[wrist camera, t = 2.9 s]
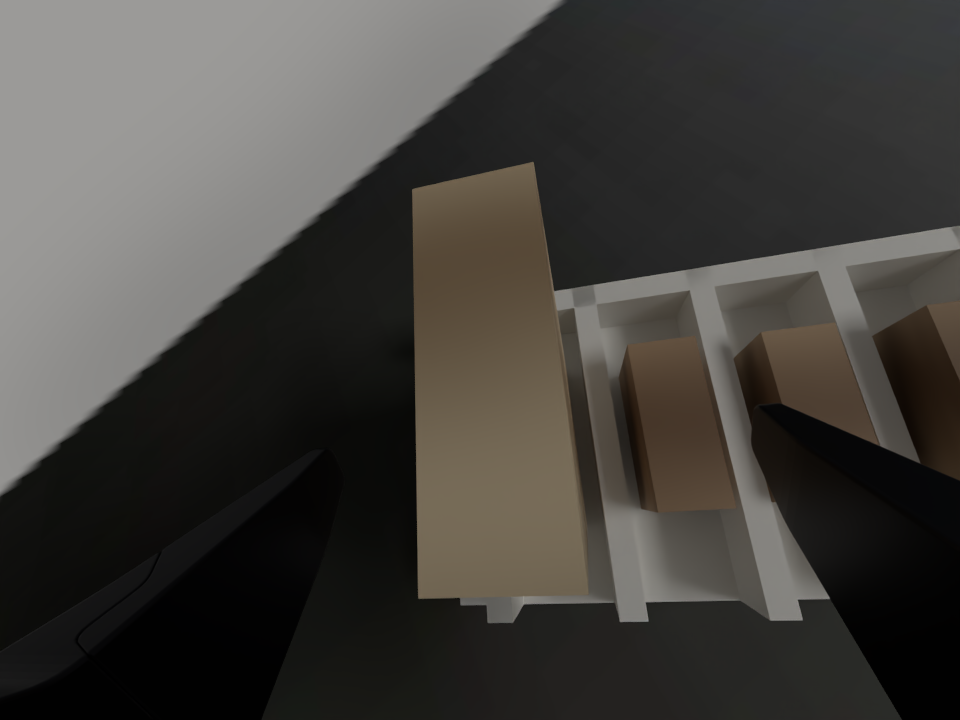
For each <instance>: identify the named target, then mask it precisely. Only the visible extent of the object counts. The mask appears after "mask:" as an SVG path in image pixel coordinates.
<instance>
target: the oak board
mask: <svg viewBox="0 0 960 720" xmlns="http://www.w3.org/2000/svg"><path fill="white" fill-rule="evenodd" d="M412 192H413V263H414V334H415V406H416V477H417V548H418V599H426V598H474V597H522V596H570V595H589V587H588V538H587V521H586V513H585V506H584V498H583V491H582V483H581V476H580V468H579V461H578V453H577V446H576V438H575V430H574V423H573V415H572V408H571V400H570V393H569V385H568V378H567V370H566V364H565V358H564V352H563V345H562V339H561V333H560V326H559V320H558V314H557V307H556V301H555V295H554V288H553V282H552V276H551V270H550V263H549V257H548V251H547V244H546V238H545V232H544V225H543V219H542V213H541V207H540V200H539V194H538V188H537V181H536V175H535V169H534V162H531V163H527V164H523V165H518V166H514V167H509V168H505V169H500V170H496V171H491V172H487V173H482V174H478V175H474V176H469V177H465V178H460V179H456V180H451V181H447V182H442V183H438V184H433V185H429V186H424V187H420V188H416V189H412Z"/></svg>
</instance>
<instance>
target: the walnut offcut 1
mask: <svg viewBox="0 0 960 720" xmlns="http://www.w3.org/2000/svg"><path fill="white" fill-rule="evenodd" d="M619 383H620V389H621V395H622V400H623V406H624V412H625V418H626V424H627V429H628V435H629V441H630V447H631V453H632V458H633V464H634V470H635V476H636V482H637V487H638V493H639V499H640V505H641V509H643V510H648V511H652V512H657V513H662V512H680V511H698V510H715V509H733V508H737V507H736V503H735V499H734V495H733V491H732V487H731V482H730V478H729V474H728V470H727V466H726V462H725V457H724V453H723V449H722V445H721V441H720V437H719V432H718V428H717V424H716V420H715V416H714V412H713V407H712V403H711V399H710V395H709V391H708V387H707V382H706V378H705V374H704V370H703V366H702V362H701V357H700V353H699V349H698V345H697V341H696V337H695V336H689V337H682V338H674V339H667V340H659V341H652V342H644V343H637V344H629V345H627V348H626V352H625V355H624V359H623V363H622V367H621V370H620V374H619Z"/></svg>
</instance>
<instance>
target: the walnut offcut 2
mask: <svg viewBox="0 0 960 720" xmlns="http://www.w3.org/2000/svg"><path fill="white" fill-rule="evenodd" d="M733 359H734V363H735V367H736V370H737V374H738V378H739V382H740V385H741V389H742V393H743V397H744V400H745V404H746V408H747V412H748V416H749V419H750V423H751V427H752V419H753V411H754V408H755V407H756V406H757V405H761V404H770V403H781V404H784V405H786V406H789V407H791V408H793V409H796V410H798V411H800V412H802V413H805V414H807V415H809V416H812V417H814V418H816V419H819V420H821V421H823V422H826V423H828V424H830V425H833V426H835V427H837V428H839V429H842V430H844V431H846V432H849V433H851V434H853V435H856V436H858V437H860V438H863V439H865V440H867V441H870V442H872V443H874V444H876V445H878V442H877V439H876V436H875V433H874V431H873V428H872V425H871V422H870V419H869V417H868V414H867V411H866V408H865V405H864V403H863V400H862V397H861V394H860V391H859V389H858V386H857V383H856V380H855V377H854V375H853V372H852V369H851V366H850V363H849V360H848V358H847V355H846V352H845V349H844V346H843V344H842V341H841V338H840V335H839V332H838V330H837V327H836V324H835V322H834V323H827V324H819V325H811V326H804V327H796V328H788V329H781V330H773V331H765V332H761V333H760V334H758V335H757V336H756V337H755V338H754V339H753V340H752V341H751V342H750V343H749V344H748V345H747V346H746V347H745V348H744V349H743V350H742V351H741V352H740V353H738V354H737V355H736V356H735V357H734V358H733ZM765 480H766V479H765ZM766 483H767V481H766ZM767 487H768V491H769V495H770V498H771V502H775V499H774V497H773V495H772V493H771V490H770V488H769V486H768V484H767Z"/></svg>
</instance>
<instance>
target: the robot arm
mask: <svg viewBox="0 0 960 720" xmlns="http://www.w3.org/2000/svg"><path fill="white" fill-rule="evenodd" d="M751 446H752V449H753V452H754V455H755V457H756V459H757V461H758V464H759V466H760V468H761V470H762V472H763V475H764V477H765V479H766V481H767V484H768V486H769V488H770V490H771V493H772V495H773V497H774V499H775V502H776V504H777V506H778V508H779V511H780V513H781V515H782V517H783V519H784V521H785V523H786V525H787V526H788V528H789V530H790V532H791V534H792V535H793V537H794V539H795V540H796V542H797V544H798V545H799V547H800V549H801V550H802V552H803V554H804V556H805V557H806V559H807V561H808V562H809V564H810V566H811V567H812V569H813V571H814V572H815V574H816V576H817V577H818V579H819V581H820V582H821V584H822V586H823V588H824V589H825V591H826V593H827V594H828V596H829V598H830V599H831V601H832V603H833V604H834V606H835V608H836V609H837V611H838V613H839V614H840V616H841V618H842V619H843V621H844V623H845V625H846V626H847V628H848V630H849V631H850V633H851V635H852V636H853V638H854V640H855V641H856V643H857V645H858V646H859V648H860V650H861V651H862V653H863V655H864V657H865V658H866V660H867V662H868V663H869V665H870V667H871V668H872V670H873V672H874V673H875V675H876V677H877V678H878V680H879V682H880V683H881V685H882V687H883V688H884V690H885V692H886V694H887V695H888V697H889V699H890V700H891V702H892V704H893V705H894V707H895V709H896V710H897V712H898V714H899V715H900V717H901V719H902V720H960V480H957V479H955V478H953V477H951V476H948V475H946V474H944V473H941V472H939V471H937V470H934V469H932V468H930V467H927V466H925V465H923V464H920V463H918V462H916V461H914V460H911V459H909V458H907V457H904V456H902V455H900V454H897V453H895V452H893V451H890V450H888V449H886V448H883V447H881V446H879V445H876V444H874V443H872V442H870V441H867V440H865V439H863V438H860V437H858V436H856V435H853V434H851V433H849V432H846V431H844V430H842V429H839V428H837V427H835V426H833V425H830V424H828V423H826V422H823V421H821V420H819V419H816V418H814V417H812V416H809V415H807V414H805V413H802V412H800V411H798V410H796V409H793V408H791V407H789V406H786V405H784V404H781V403H770V404H761V405H757V406H756V407H755V408H754V411H753V419H752V431H751ZM344 483H345V478H344V474H343V471H342V469H341V467H340V465H339V462H338V460H337V458H336V456H335V454H334V452H333V451H332V450H331V449H329V448H322V449H314V450H312V451H310V452H308V453H307V454H305V455H304V456H302V457H301V458H299V459H298V460H296V461H295V462H293V463H292V464H290V465H289V466H287V467H286V468H284V469H283V470H281V471H280V472H278V473H277V474H275V475H274V476H272V477H271V478H269V479H268V480H266V481H265V482H263V483H262V484H260V485H259V486H257V487H256V488H254V489H253V490H251V491H250V492H248V493H247V494H245V495H244V496H242V497H241V498H239V499H238V500H236V501H235V502H233V503H232V504H230V505H229V506H227V507H226V508H224V509H223V510H221V511H220V512H218V513H217V514H215V515H214V516H212V517H211V518H209V519H208V520H206V521H205V522H203V523H202V524H200V525H199V526H197V527H196V528H194V529H193V530H191V531H190V532H188V533H187V534H185V535H184V536H182V537H181V538H179V539H178V540H176V541H175V542H173V543H172V544H170V545H169V546H167V547H166V548H164V549H163V550H162V552H158V553H157V554H155V555H154V556H152V557H151V558H149V559H148V560H146V561H145V562H143V563H142V564H140V565H139V566H137V567H136V568H134V569H133V570H131V571H129V572H128V573H126V574H125V575H123V576H122V577H120V578H119V579H117V580H116V581H114V582H113V583H111V584H109V585H108V586H106V587H105V588H103V589H101V590H100V591H98V592H97V593H95V594H93V595H92V596H90V597H89V598H87V599H85V600H84V601H82V602H81V603H79V604H77V605H76V606H74V607H72V608H71V609H69V610H67V611H66V612H64V613H63V614H61V615H59V616H58V617H56V618H54V619H53V620H51V621H49V622H48V623H46V624H45V625H43V626H41V627H40V628H38V629H36V630H35V631H33V632H31V633H30V634H28V635H26V636H25V637H23V638H22V639H20V640H18V641H17V642H15V643H13V644H12V645H10V646H8V647H7V648H5V649H4V650H2V651H0V720H261V719H262V716H263V713H264V711H265V708H266V706H267V703H268V700H269V698H270V695H271V693H272V690H273V687H274V685H275V682H276V679H277V677H278V674H279V672H280V669H281V666H282V664H283V661H284V659H285V656H286V653H287V651H288V648H289V645H290V643H291V640H292V638H293V635H294V632H295V630H296V627H297V625H298V622H299V619H300V617H301V614H302V611H303V609H304V606H305V604H306V601H307V598H308V596H309V593H310V591H311V588H312V585H313V583H314V580H315V577H316V575H317V572H318V570H319V567H320V564H321V562H322V559H323V557H324V554H325V551H326V548H327V545H328V542H329V539H330V536H331V532H332V528H333V525H334V521H335V517H336V514H337V510H338V506H339V503H340V499H341V495H342V492H343V488H344Z"/></svg>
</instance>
